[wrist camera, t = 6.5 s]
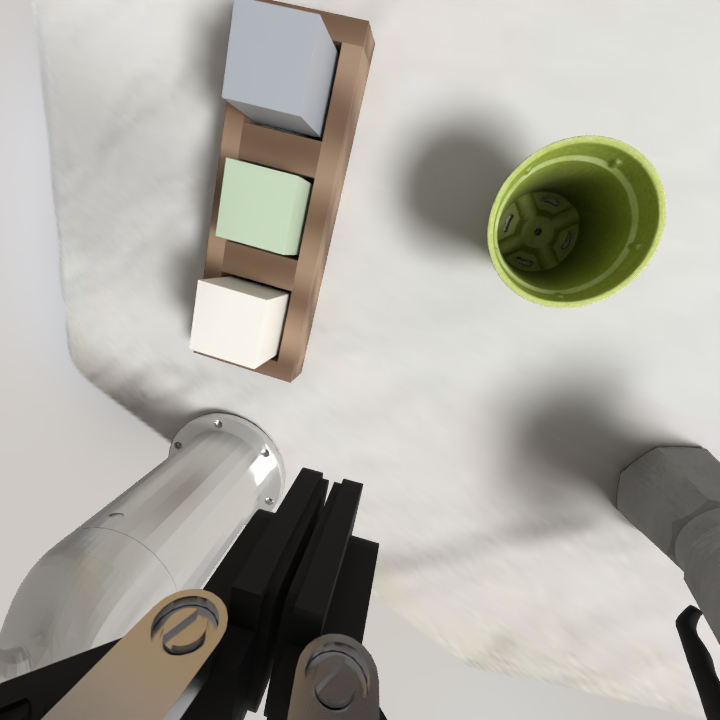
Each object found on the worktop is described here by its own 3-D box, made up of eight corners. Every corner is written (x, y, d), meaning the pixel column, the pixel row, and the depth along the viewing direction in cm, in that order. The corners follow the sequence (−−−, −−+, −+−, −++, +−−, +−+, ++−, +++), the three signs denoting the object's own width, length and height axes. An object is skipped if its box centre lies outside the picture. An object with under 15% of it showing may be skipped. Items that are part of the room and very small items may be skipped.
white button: (278, 353, 35) (254, 369, 30) (221, 336, 35) (189, 348, 31) (290, 293, 33) (266, 300, 29) (230, 276, 34) (198, 279, 29)
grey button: (321, 138, 30) (300, 116, 25) (254, 121, 30) (221, 97, 26) (338, 54, 28) (319, 14, 23) (267, 38, 29) (234, -5, 24)
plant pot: (570, 308, 32) (619, 327, 23) (457, 275, 32) (465, 282, 24) (624, 186, 29) (701, 160, 21) (498, 154, 30) (524, 116, 21)
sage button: (304, 254, 34) (283, 254, 29) (245, 238, 34) (215, 235, 30) (318, 187, 32) (298, 176, 27) (256, 171, 33) (226, 157, 28)
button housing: (301, 372, 37) (290, 382, 34) (211, 344, 38) (193, 352, 35) (375, 43, 29) (368, 20, 26) (259, 18, 30) (241, -7, 27)
